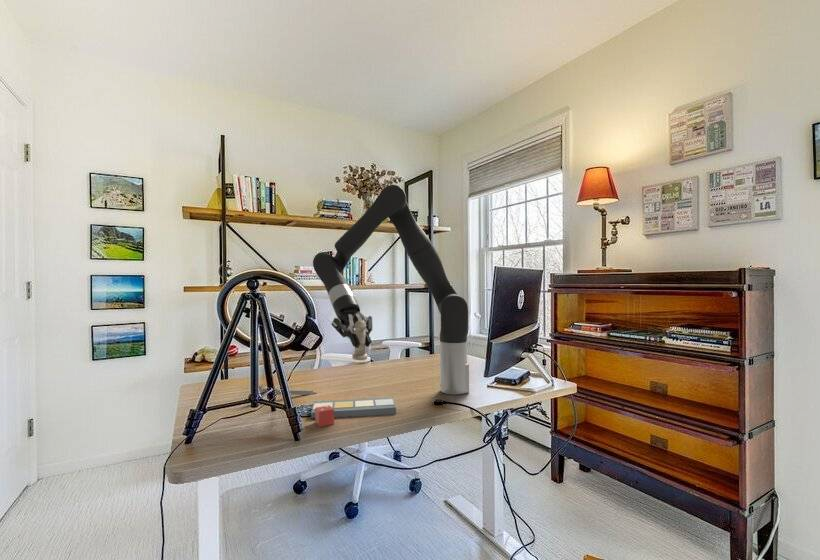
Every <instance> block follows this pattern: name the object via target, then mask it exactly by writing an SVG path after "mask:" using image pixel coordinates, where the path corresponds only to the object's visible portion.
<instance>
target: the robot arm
mask: <svg viewBox="0 0 820 560" xmlns="http://www.w3.org/2000/svg"><path fill="white" fill-rule="evenodd" d="M387 219H389V220H390V222H391V223H392V225H393V227H394V228H395V229H396V231H397V233H398V236H399V239H400V241H401V244H402V245H403V248H404V250H405V252H406V254H407V256H408V258H409V259H410V261H411V263H412V265H413V266H414V269H415V270H416V271H417V273H418V274H419V276H420V277H421V279H422V280H423V282H424V283H425V285H426V286H427V288H428V289H429V292H430V293H431V295H432V297H433V300H434V302H435V304H436V307H437V309H438V312H439V314H440V332H439V372H440V373H439V374H440V375H439V377H440V381H439V383H440V384H439V385H440V389H439V390H440V392H441V393H443V394H444V395H445V394H447V395H453V396H455V395H464V394H467V393H468V394H469V393H470V365H469V363H468V342H467V341H468V332H469V307H468V303H467V301H466V299H465V298H464V297H463V296H460V295H459V294H458V293H457V292H456V290H455V289H454V287H453V286H452V284H451V283H450V281H449V279H448V277H447V274H446V272H445V269H444V265H443V263H442V260H441V258H440V256H439V253H438V252H437V249H436V248H435V246H434V245H433V242H432V241H431V240H430V238H429V236H428V235H427V234H426V232H425V231H424V230H423V229H422V227H421V226H420V225H419V223H418V222H417V221H416V219H415V217H414V215H413V213H412V211H411V208H410V207H409V204H408V202H407V193H406V192H405V190H404V189H403V188H402V187H401V186H400V185H397V184H389V185H387V186H385V187H383V188H382V190H381V191H380V193H379V194H378V195H377V196H376V199H375V200H374V201H373V202H372V204H371V205H370V206H369V208H367V210H366V212H365V213H364V214H363V215H362V216H361V217H360V218H359V219H358V220H357V221H356V222H355V223H353V225H351V227H350V228H348V230H347V231H346V232H344V234H342V235H341V237H340V238H338V239H337V241H336V242H335V243H334V248H335V250H336V253H335V255H334V256H333V255H331V254H330V253H328V252H325V251H321V252H318V253H317V254H315V255H314V257H313V259H312V266H313V269H314V271H315V273H316V275H317V276H318V278H319V279H320V282H322V284H323V285H324V288H325V290H326V291H327V295H328V298H329V301H330V304H331V306H332V308H333V310H334V313H335V316H336V317H334V318H333V320H332V321H331V326H332V327H333V328H334V329H335V330H336V332H337V333H338V334H339V335H340V336H341V337H342V338H348V339H350V342H351V345H352V346H353V347H354V348H358V347H359V345H360V342H359V340H358V337H357V335H356V334H355V328H354V325H355V323H356V322H357V321H363V322H364V323H365V324H366V328H365V330H366V332H365V348H369V347H370V346H371V344H372V338H371V336H370V334H371V332H372V331H373V316H371V315H369V316H368V317H367V316H364V313H362V312H361V307H360V305H359V303H358V301H357V299H356V297H355V294H354V292H353V291H352V289H351V288H350V286H349V284H348V282H347V280H346V278H345V276H344V275H343V274H342V273H343V272H344V270H345V268H346V266H347V264H348V263H349V262H350V259H351V257H352V256H353V255H355V253H356V252H357V251H359V250H360V249H361V247H362V246H364V244H365V243H366V242H367V240H368V239H369V238H371V236H372V235H373V233H374V232H375V230H377V228H378V227H379V226H380V225H381V224H382V223H384V221H385V220H387Z"/></svg>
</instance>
